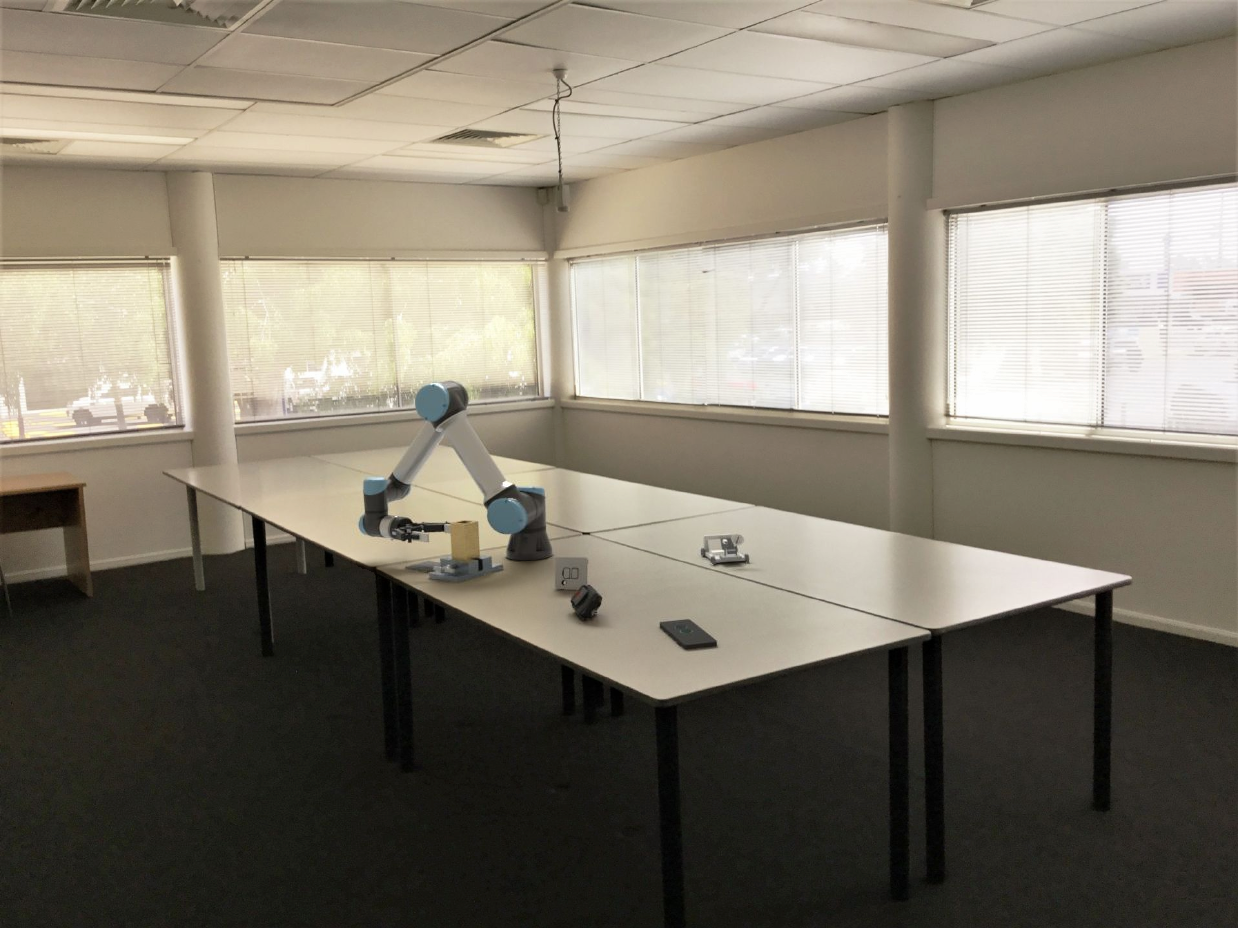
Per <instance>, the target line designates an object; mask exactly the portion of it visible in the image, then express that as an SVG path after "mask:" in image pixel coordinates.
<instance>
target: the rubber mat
mask: <svg viewBox="0 0 1238 928" xmlns="http://www.w3.org/2000/svg"><path fill="white" fill-rule="evenodd" d="M434 566H439V567H441V565H440V561H433V560H426V561H422V562H419V563H415V564H411V565H407V566H404V569H405V570H410V571H415V570H417V571H416V572H422V573H431V572H435V570H433V567H434Z"/></svg>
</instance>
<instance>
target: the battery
mask: <svg viewBox="0 0 1238 928" xmlns="http://www.w3.org/2000/svg"><path fill="white" fill-rule="evenodd" d="M569 601H570V603H571V608H572V609H573V610H574V612H575V613H576V614H577V615H578V617H580V618H581V619H582V620H583V621H586V620H590V619H591V618H593V616H594V615H595V614H596V615H597V614H598V612H597V611H598V609H600V607H601V606H602V601H603V596H602V595H601V594H600V593H599V592H598V591H597V590H596V589H595V587H593V586H592V585H590V584H587V586H586V585H582V586H581V587H580V588H579V589H578V590H576V592H575V593H574V594H573V595H572V597H571V599H570V600H569Z"/></svg>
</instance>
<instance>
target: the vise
mask: <svg viewBox="0 0 1238 928" xmlns="http://www.w3.org/2000/svg"><path fill="white" fill-rule="evenodd" d="M439 562H440V565H441V567H439V566H434V567H433V570H434V571H431V572H428V578H429V579H432V580H433V579H434V580H437V581H445V582H450V583H457V584H459V583H462V582H465V581H468V580H469V581H470V580H472V579H475V578H478V576H479V577H482V576H485V575H488V574H491V572H492V573H495V572H498V570H499V571H502V570H504V564H502V563H498V562H497V563H496V562H493V558H492V556H491V555H486V554H485V555H484V554H480V557H477V558H473V559H470V560H459V559H453V558H452V555H448V556H445V557H441V558H439ZM484 574H485V575H484ZM461 581H462V582H461Z"/></svg>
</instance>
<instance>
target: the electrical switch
mask: <svg viewBox="0 0 1238 928" xmlns="http://www.w3.org/2000/svg"><path fill="white" fill-rule="evenodd" d="M588 564H589V559H588V557H585V556H557V557H556V558H555V575H554V577H555V579H554V580H555V581H554V588H555V590H557V589H564V590H566V591H578V589H579V588H580V587H581V586H582V585H586V586H587V585H588V575H589V574H588V567H589V565H588ZM564 590H563V591H564Z"/></svg>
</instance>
